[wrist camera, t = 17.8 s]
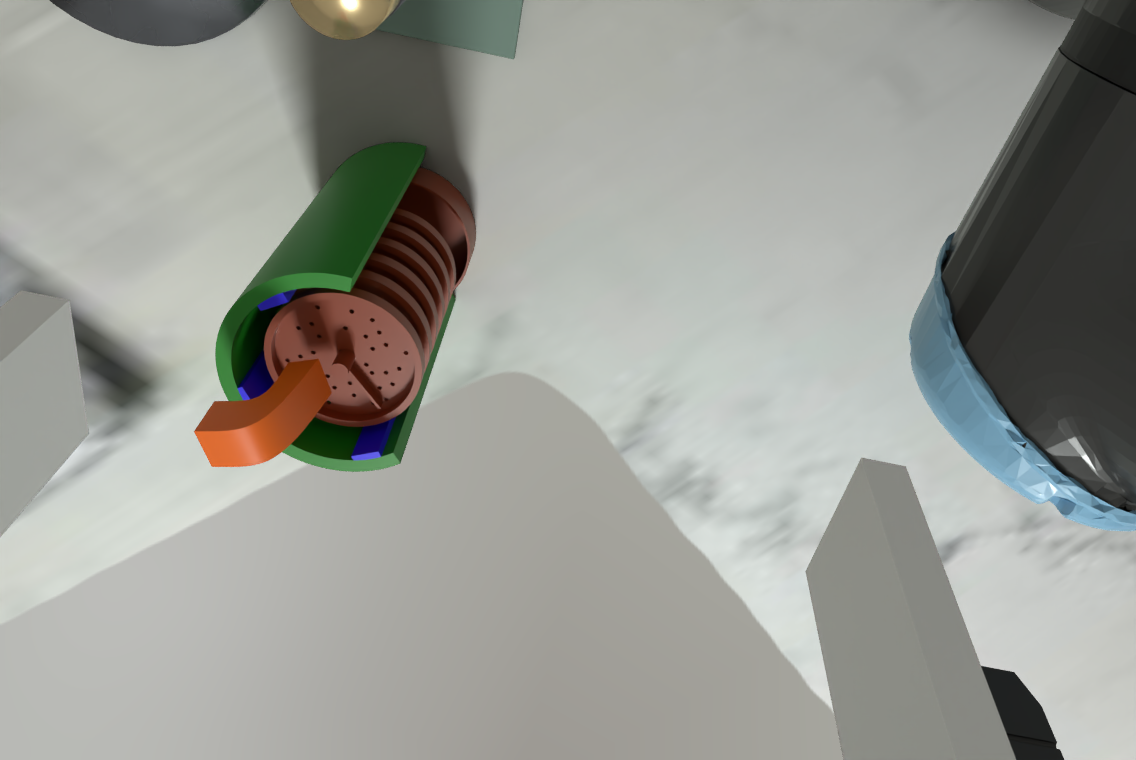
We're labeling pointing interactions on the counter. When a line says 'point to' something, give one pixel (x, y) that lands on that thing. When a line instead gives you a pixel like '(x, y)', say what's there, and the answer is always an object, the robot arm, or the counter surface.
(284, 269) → the cutaway screw mechanism model
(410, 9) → the mat
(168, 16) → the base
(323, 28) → the gold capped bottle
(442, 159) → the counter surface
